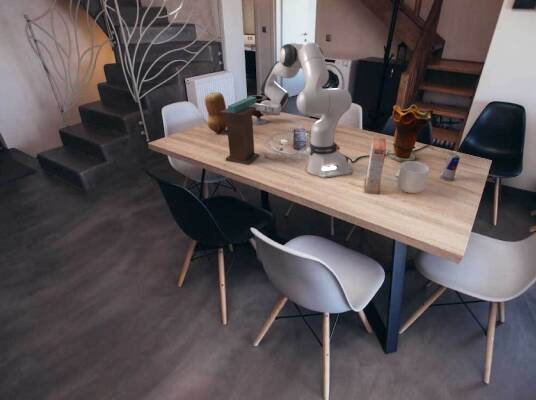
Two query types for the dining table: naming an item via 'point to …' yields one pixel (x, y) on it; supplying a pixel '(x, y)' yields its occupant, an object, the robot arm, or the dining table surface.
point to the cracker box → (375, 165)
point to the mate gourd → (258, 113)
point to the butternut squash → (216, 112)
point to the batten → (241, 104)
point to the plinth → (240, 135)
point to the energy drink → (450, 166)
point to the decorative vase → (407, 131)
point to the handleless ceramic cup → (412, 176)
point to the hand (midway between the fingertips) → (258, 107)
